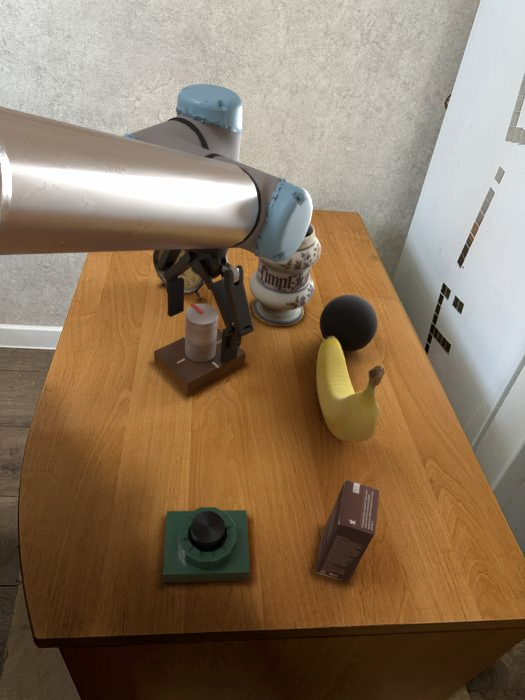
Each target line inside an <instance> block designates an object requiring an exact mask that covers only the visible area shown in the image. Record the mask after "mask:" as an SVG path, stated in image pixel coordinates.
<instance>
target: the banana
mask: <svg viewBox="0 0 525 700" xmlns="http://www.w3.org/2000/svg"><path fill="white" fill-rule="evenodd" d="M315 372H316V374H315V376H316V377H315V378H316V391H317V398H318V403H319V407H320V409H321V413H322V416H323V419H324V422H325V424H326V426H327V429H328V430H329V431H330V432H331V434H332V435H333V436H334V437H335V438H337V439H338V440H341V441H343V442H350V443H358V442H365V441H367V440H369V439H370V438H371V437H372V436H373V435H374V433H375V431H376V427H377V424H378V421H379V417H380V405H379V404H378V402H377V399H376V395H375V391H376V387H377V386H379V385H380V383H381V382H382V380H383V377H384V375H385V373H386V371H385V368H384V366H382V365H380V364H379V365H376V366H374V367H373V368H370V369H369V370H368V381H367V382H368V383H367V385H366V388H364V389H362V390H361V391H357V392H355V390H354V387H353V384H352V381H351V377H350V375H349V371H348V367H347V363H346V358H345V354H344V351H342V348H341V345H340V343H339V341H338V340H337V339H336V337H335V336H327V337H326V338H325V339H324V338H323V340H322V342H321V344H320V346H319V349H318V352H317V358H316V371H315Z"/></svg>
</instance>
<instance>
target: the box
mask: <svg viewBox="0 0 525 700" xmlns="http://www.w3.org/2000/svg"><path fill="white" fill-rule="evenodd" d="M379 498H380V489H377V488H375V487H371V486H368V485H365V484H362V483H359V482H355V481H351V480H348V479H345V480H344V482H343V484H342V486H341V488H340V491H339V492H338V495H337V497H336V500H335V502H334V504H333V506H332V509H331V511H330V513H329V516H328V518H327V520H326V522H325V525H324V527H323V530H322V533H321V537H320V544H319V549H318V553H317V558H316V559H317V560H316V565H315V573H317V574H319V575H320V576H326V577H329V578H330V579H331V578H332V579H335V580H339V581H342V582H346V583H349V581H350V579H351V577H352V576H353V574H354V573H355V571H356V569H357V567H358V566H359V563H360V561H361V560H362V558H363V556H364V555H365V552H366V551H367V549H368V547H369V546H370V544H371V542H372V540H373V538H374V537H375V535H376V529H377V521H378V509H379Z"/></svg>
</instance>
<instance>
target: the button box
mask: <svg viewBox="0 0 525 700" xmlns="http://www.w3.org/2000/svg"><path fill="white" fill-rule="evenodd" d="M204 511H213V512H216V513H218V514H219V515H220V516H221V517H222V518H223V520H224V522H225V535H224V540H223V542H222V543H221V545H220V546H219V547H217V548H216V549H214V550H210V551H204V550H201V549H199V548H197V547H196V546H195V545H194V544H193V543H192V540H191V523H192V520H193V519H194V517H195V516H196V515H198V514H199V513H201V512H204ZM247 513H248V512H247V510H246V509H235V510H232V509H231V510H230V509H227V510H226V509H225V510H223V509H220V508H219V507H216V506H200V507H197V508H195V509H194V510H167V511H166V515H165V517H166V519H165V534H164V535H165V536H164V551H163V554H164V555H163V569H162V581H163V582H162V583H163V584H167V583H168V584H169V583H171V584H172V583H198V582H199V583H200V582H201V583H202V582H205V583H206V582H230V581H231V582H236V581H249V579H250V575H251V562H250V561H251V560H250V548H249V547H250V546H249V545H250V544H249V532H248V530H249V528H248V516H247V515H248V514H247Z"/></svg>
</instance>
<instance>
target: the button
mask: <svg viewBox="0 0 525 700" xmlns="http://www.w3.org/2000/svg"><path fill="white" fill-rule="evenodd" d="M224 535H225V522H224V520H223V518H222V517H221V516H220V515H219V514H218V513H216V512H213V511H204V512H201V513H199V514H198V515H196V516H195V517H194V519H193V520H192V523H191V540H192V543H193V544H194V545H195V546H196V547H197V548H199V549H201V550H204V551H210V550H214V549H216V548H217V547H219V546H220V545H221V543H222V542H223V540H224Z"/></svg>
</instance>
